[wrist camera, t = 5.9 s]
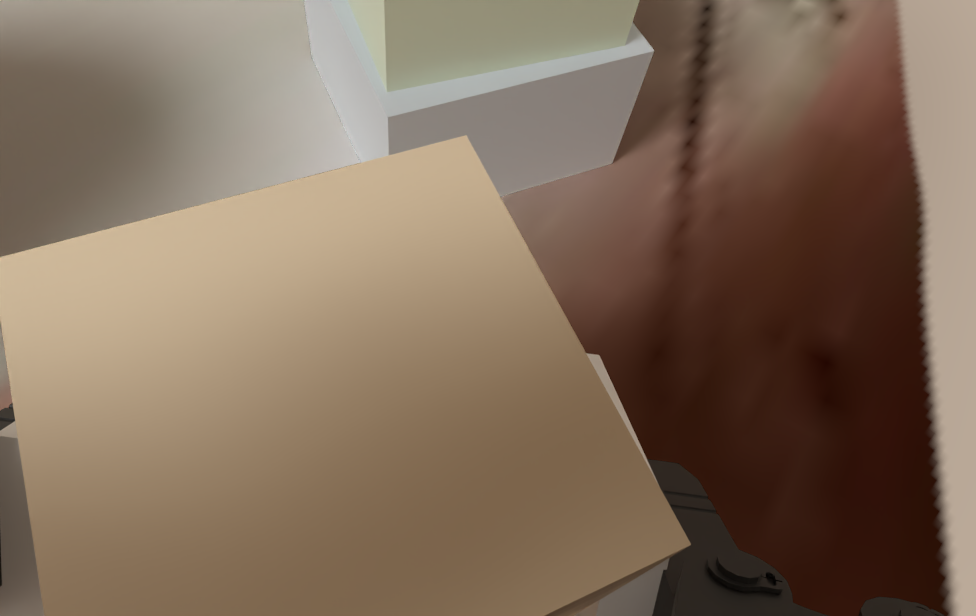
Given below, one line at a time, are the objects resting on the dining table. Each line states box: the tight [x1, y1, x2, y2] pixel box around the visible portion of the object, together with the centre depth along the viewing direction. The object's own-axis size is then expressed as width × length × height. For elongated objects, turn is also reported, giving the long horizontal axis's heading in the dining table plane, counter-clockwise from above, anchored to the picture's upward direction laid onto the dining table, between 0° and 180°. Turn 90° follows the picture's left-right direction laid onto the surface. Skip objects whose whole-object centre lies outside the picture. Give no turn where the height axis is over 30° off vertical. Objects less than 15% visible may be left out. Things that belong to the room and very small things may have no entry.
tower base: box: [304, 0, 654, 197], centre depth 23 cm, size 8×8×5 cm
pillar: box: [0, 135, 691, 616], centre depth 12 cm, size 5×5×12 cm
